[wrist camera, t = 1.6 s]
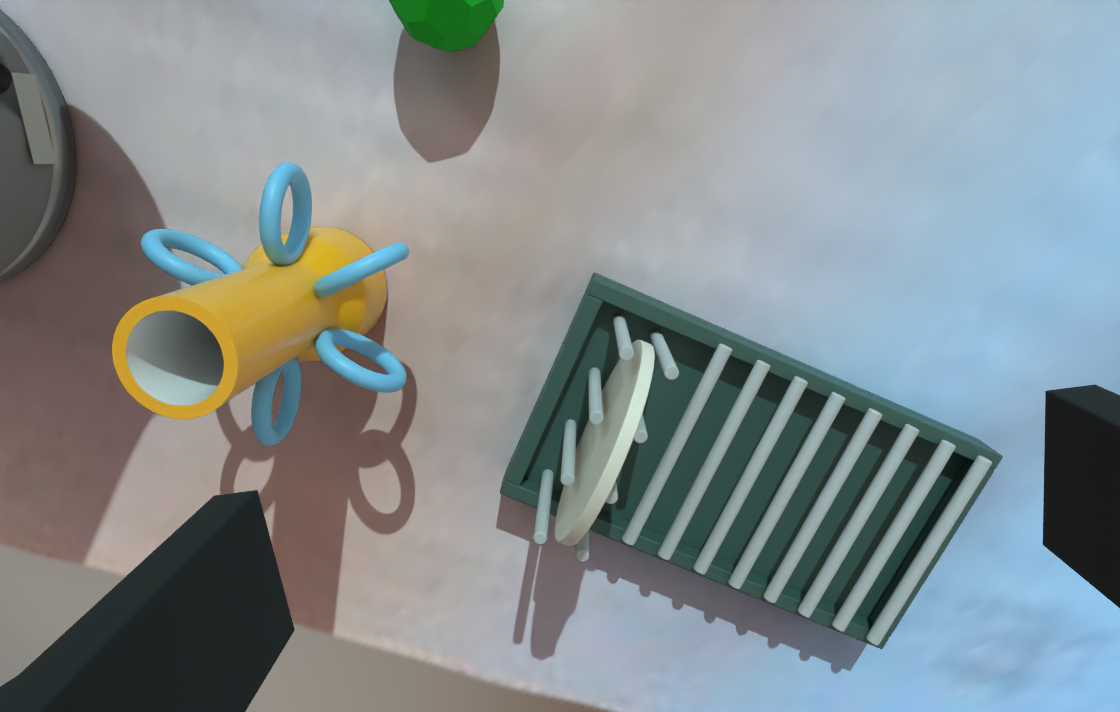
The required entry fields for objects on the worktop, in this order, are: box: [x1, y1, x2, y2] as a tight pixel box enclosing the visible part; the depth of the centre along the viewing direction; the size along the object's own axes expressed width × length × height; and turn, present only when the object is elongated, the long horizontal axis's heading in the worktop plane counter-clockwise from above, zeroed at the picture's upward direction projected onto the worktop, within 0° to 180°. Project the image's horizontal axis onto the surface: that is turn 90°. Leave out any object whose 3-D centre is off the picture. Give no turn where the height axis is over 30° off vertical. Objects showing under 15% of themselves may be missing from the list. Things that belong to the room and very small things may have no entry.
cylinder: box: [112, 162, 409, 446], centre depth 31 cm, size 12×10×15 cm
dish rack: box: [500, 273, 1003, 649], centre depth 34 cm, size 22×12×11 cm, turn 67°
